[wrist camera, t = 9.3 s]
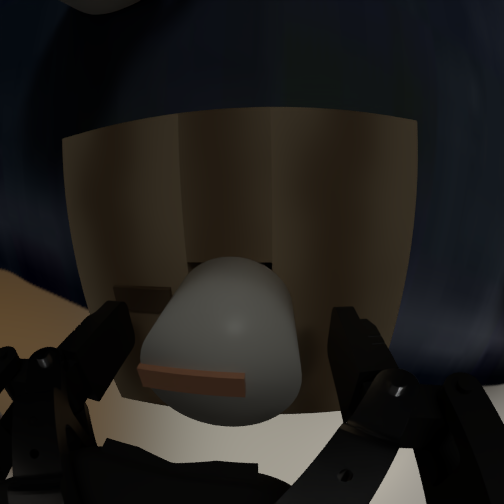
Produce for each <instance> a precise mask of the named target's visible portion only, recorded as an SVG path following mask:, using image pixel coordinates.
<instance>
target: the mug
mask: <svg viewBox="0 0 504 504" xmlns="http://www.w3.org/2000/svg"><path fill="white" fill-rule="evenodd" d="M60 1H62V2H64V3H66V4H67V5H69V6H71V7H73V8H75V9H76V10H79V11H81V12H84V13H87V14H92V15H98V14H107V13H111V12H115V11H118V10H121V9H123V8H126V7H128V6H130V5H133V4H135V3H137V2H139V1H140V0H60Z"/></svg>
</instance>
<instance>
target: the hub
mask: <svg viewBox="0 0 504 504" xmlns="http://www.w3.org/2000/svg"><path fill="white" fill-rule="evenodd" d="M62 148H63V170H64V183H65V194H66V203H67V211H68V218H69V225H70V231H71V237H72V243H73V248H74V253H75V258H76V262H77V267H78V271H79V276H80V280H81V284H82V288H83V291H84V295H85V299H86V302H87V306H88V309H89V312H90V315H91V314H93V313H94V312H96V311H97V310H98V309H99V308H100V307H101V306H102V305H103V304H104V303H105V302H106V301H108V300H111V301H122V302H125V303H126V304H127V306H128V310H129V314H130V318H131V322H132V326H133V329H134V333H135V344H134V347H133V349H132V351H131V352H130V354H129V355H128V357H127V358H126V360H125V361H124V363H123V365H122V366H121V368H120V369H119V371H118V372H117V374H116V376H115V377H114V380H115V383H116V385H117V387H118V390H119V392H120V394H121V396H122V397H124V398H128V399H133V400H138V401H143V402H148V403H154V404H159V405H166V406H168V405H167V404H166V403H165V402H163V401H162V400H161V399H160V398H159V397H158V396H157V395H156V394H155V393H154V391H153V390H152V389H151V388H149V387H143V385H142V382H141V379H140V376H139V374H138V371H137V367H138V365H139V363H140V354H141V348H142V345H143V342H144V340H145V338H146V337H147V335H148V333H149V332H150V330H151V329H152V327H153V326H154V324H155V322H156V321H157V319H158V318H159V316H160V315H161V313H162V312H163V310H164V309H165V307H166V306H167V304H168V302H169V301H170V299H171V298H172V296H173V295H174V293H175V292H176V290H177V289H178V287H179V286H180V284H181V283H182V281H183V280H184V279H185V277H186V276H187V275H188V274H189V273H190V272H191V271H192V270H193V269H194V268H195V267H197V266H198V265H200V264H202V263H204V262H206V261H208V260H211V259H214V258H220V257H230V256H231V257H242V258H247V259H250V260H253V261H256V262H272V271H273V272H274V273H276V274H277V275H278V277H279V278H280V279H281V280H282V281H283V282H284V284H285V285H286V287H287V289H288V291H289V293H290V296H291V299H292V304H293V311H294V318H295V326H296V333H297V341H298V348H299V356H300V364H301V372H302V383H301V387H300V391H299V393H298V395H297V397H296V398H295V400H294V401H293V403H292V404H291V405H290V406H289V407H288V408H287V409H286V410H285V411H283V412H282V413H280V414H301V413H319V412H331V411H341V410H340V405H339V401H338V396H337V392H336V388H335V384H334V380H333V375H332V371H331V367H330V363H329V359H328V354H327V342H328V335H329V328H330V320H331V313H332V309H333V307H344V306H353V307H354V308H355V310H356V312H357V314H358V316H359V318H360V319H368V320H369V321H370V322H372V323H373V324H374V325H376V327H377V329H378V330H379V332H380V334H381V336H382V338H383V339H384V341H385V344H386V345H387V347H388V349H389V345H390V342H391V338H392V335H393V331H394V327H395V323H396V320H397V316H398V311H399V307H400V303H401V298H402V294H403V289H404V284H405V279H406V273H407V268H408V262H409V255H410V249H411V242H412V234H413V225H414V216H415V204H416V190H417V164H418V140H417V121H415V120H409V119H404V118H399V117H393V116H386V115H380V114H373V113H365V112H356V111H347V110H335V109H321V108H300V107H252V108H230V109H216V110H205V111H195V112H186V113H178V114H171V115H164V116H158V117H152V118H146V119H140V120H135V121H130V122H125V123H120V124H116V125H112V126H107V127H103V128H99V129H95V130H91V131H88V132H84V133H80V134H77V135H73V136H70V137H67V138H63V139H62Z"/></svg>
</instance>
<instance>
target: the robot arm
mask: <svg viewBox="0 0 504 504" xmlns="http://www.w3.org/2000/svg"><path fill="white" fill-rule="evenodd" d="M134 344H135V333H134V329H133V326H132V322H131V318H130V314H129V310H128V306H127V304H126V303H125V302H122V301H111V300H108V301H106V302H105V303H104V304H103V305H102V306H101V307H100V308H99V309H98V310H97V311H96V312H94V313H93V314H91V315H89V316H87V317H86V318H85V319H84V320H83V322H82V323H81V325H78V327H77V328H76V329H75V331H73V332H72V333H71V334H70V335H69V336H68V337H67V338H66V339H65V340H64V341H63V342H62V343H61V344H60V345H59V346H58V347H57V348H54V347H45V348H42V349H39V350H38V351H36V352H34V353H33V354H32V355H31V357H30V358H29V359H20V358H19V356H18V354H17V352H16V350H15V349H14V348H13V347H9V346H6V347H2V348H0V393H1V392H2V390H3V389H4V388H5V390H6V391H7V393H8V394H9V396H10V397H11V399H12V400H13V403H12V404H11V405H10V407H9V408H8V409H7V411H6V412H5V414H4V415H3V417H2V418H1V419H0V504H369V502H370V501H371V499H372V498H373V496H374V494H375V493H376V491H377V489H378V488H379V486H380V484H381V482H382V481H383V479H384V477H385V475H386V473H387V471H388V470H389V468H390V465H391V464H392V462H393V460H394V458H395V456H396V454H397V451H398V449H399V448H413V450H414V454H415V458H416V461H417V465H418V469H419V473H420V477H421V481H422V485H423V490H424V494H425V498H426V503H427V504H504V424H503V422H502V420H501V418H500V416H499V415H498V413H497V411H496V409H495V407H494V406H493V404H492V402H491V400H490V399H489V397H488V395H487V394H486V392H485V390H484V389H483V387H482V385H481V384H480V382H479V381H478V380H477V379H476V378H475V377H473V376H472V375H469V374H467V373H453V374H451V375H450V376H448V377H447V378H446V380H445V382H444V384H443V386H439V385H423V384H419V382H418V380H417V378H416V377H415V376H414V375H413V374H412V373H410V372H408V371H406V370H403V369H399V368H398V366H397V364H396V362H395V360H394V358H393V356H392V354H391V352H390V351H389V349H388V347H387V345H386V344H385V341H384V339H383V338H382V336H381V334H380V332H379V330H378V329H377V327H376V325H374V324H373V323H372V322H370V321H369V320H368V319H360V318H359V316H358V314H357V312H356V310H355V308H354V307H353V306H344V307H333V309H332V313H331V320H330V328H329V335H328V342H327V354H328V359H329V363H330V367H331V371H332V375H333V380H334V384H335V388H336V392H337V396H338V401H339V405H340V410H341V414H342V419H343V424H342V425H341V426H340V427H339V428H338V430H337V431H336V433H335V434H334V435H333V437H332V438H331V439H330V441H329V442H328V443H327V445H326V446H325V447H324V448H323V450H322V451H321V452H320V453H319V455H318V456H317V457H316V458H315V460H314V461H313V462H312V463H311V464H310V466H309V467H308V468H307V469H306V470H305V471H304V473H303V474H302V475H301V476H300V477H299V478H298V480H297V481H296V482H295V483H294V484H293V485H292V486H291V485H289V484H288V483H286V482H284V481H281V480H279V479H277V478H274V477H271V476H268V475H265V474H261V473H258V463H237V462H224V461H210V462H195V463H171V462H169V461H167V460H164V459H162V458H160V457H158V456H156V455H154V454H152V453H149V452H147V451H145V450H143V449H141V448H140V447H137V446H133V445H129V444H126V443H122V442H119V441H115V440H112V439H109V438H107V439H106V441H105V443H104V445H103V447H101V446H100V447H98V446H97V443H96V440H95V437H94V433H93V428H92V424H91V419H90V415H89V410H88V407H87V405H86V403H85V401H86V400H87V398H89V399H92V400H95V401H100V400H101V398H102V397H103V395H104V393H105V391H106V390H107V388H108V387H109V385H110V384H111V382H112V380H113V379H114V377H115V376H116V374H117V372H118V371H119V369H120V368H121V366H122V365H123V363H124V361H125V360H126V358H127V357H128V355H129V354H130V352H131V351H132V349H133V347H134ZM346 422H347V423H346ZM11 467H13V477H11V478H8V479H6V477H7V475H8V473H9V471H10V469H11ZM5 479H6V480H5Z"/></svg>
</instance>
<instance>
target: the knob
mask: <svg viewBox="0 0 504 504" xmlns="http://www.w3.org/2000/svg"><path fill="white" fill-rule="evenodd" d="M137 371H138V374H139V376H140V379H141V382H142V385H143V387H149V388H151V389H152V390H153V391H154V393H155V394H156V395H157V396H158V397H159V398H160V399H161V400H162V401H163V402H165V403H166V404H167V405H168V406H170V407H171V408H173V409H174V410H176V411H178V412H179V413H181V414H183V415H185V416H187V417H189V418H192V419H194V420H197V421H200V422H204V423H208V424H212V425H220V426H233V427H234V426H247V425H253V424H257V423H261V422H264V421H267V420H269V419H271V418H274V417H276V416H277V415H279V414H280V413H282V412H283V411H285V410H286V409H287V408H288V407H289V406H290V405H291V404H292V403H293V401H294V400H295V398H296V397H297V395H298V393H299V391H300V387H301V383H302V372H301V364H300V356H299V348H298V341H297V333H296V326H295V318H294V311H293V304H292V299H291V296H290V293H289V291H288V289H287V287H286V285H285V284H284V282H283V281H282V280H281V279H280V278H279V277H278V275H277V274H276V273H274V272H273V271H272V270H271V269H269V268H268V267H266V266H265V262H256V261H253V260H250V259H247V258H242V257H231V256H230V257H220V258H214V259H211V260H208V261H206V262H204V263H202V264H200V265H198V266H197V267H195V268H194V269H193V270H192V271H191V272H190V273H189V274H188V275H187V276H186V277H185V279H184V280H183V281H182V283H181V284H180V286H179V287H178V289H177V290H176V292H175V293H174V295H173V296H172V298H171V299H170V301H169V302H168V304H167V306H166V307H165V309H164V310H163V312H162V313H161V315H160V316H159V318H158V319H157V321H156V322H155V324H154V326H153V327H152V329H151V330H150V332H149V333H148V335H147V337H146V338H145V340H144V342H143V345H142V348H141V354H140V363H139V365H138V367H137Z"/></svg>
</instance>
